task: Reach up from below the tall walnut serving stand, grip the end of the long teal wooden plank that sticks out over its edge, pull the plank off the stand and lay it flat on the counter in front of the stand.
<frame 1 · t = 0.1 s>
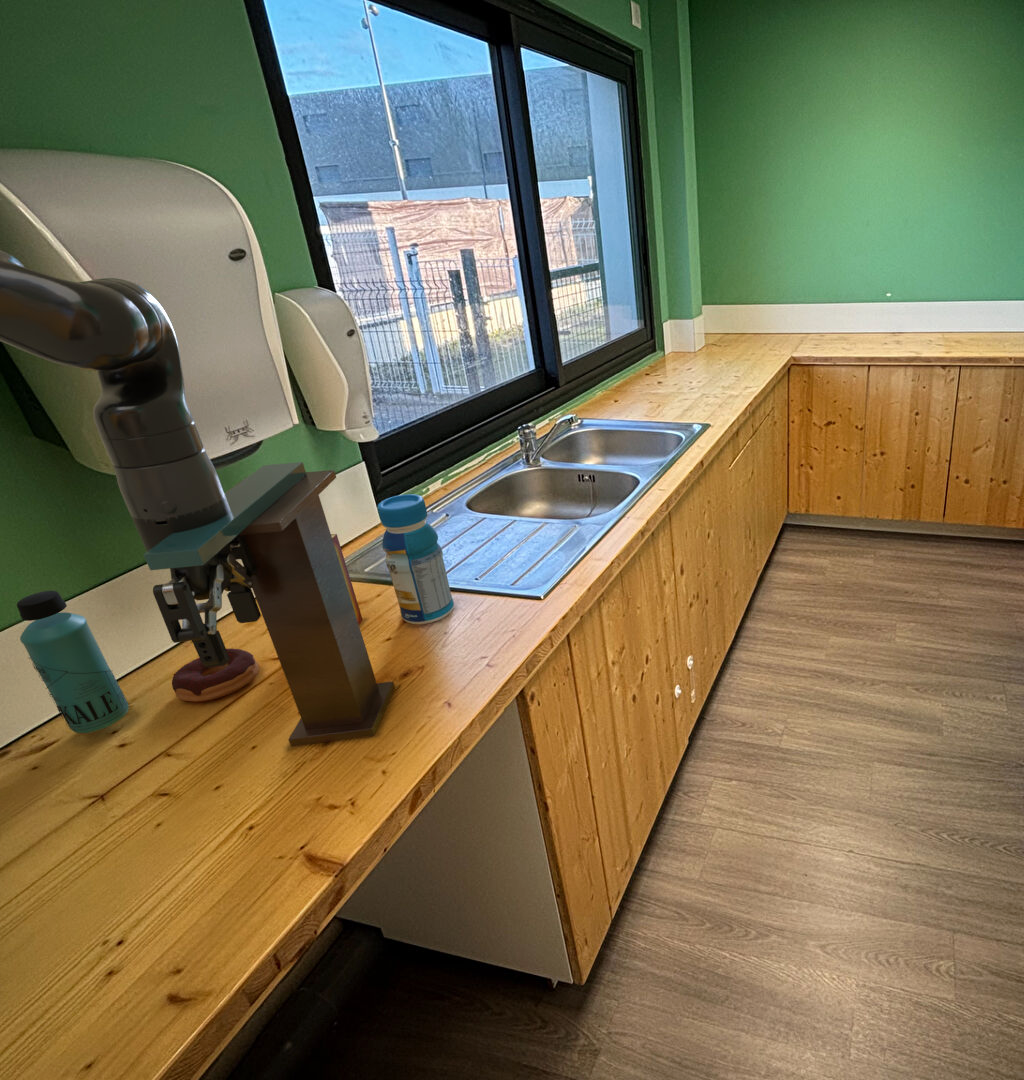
hand: (234, 641, 74), 19 cm above the countertop, tool pointing down, fingers open, 8 cm apart
donut: (221, 686, 100), on the countertop
stand: (340, 725, 91), on the countertop
beverage bottle: (106, 728, 92), on the countertop
beverage bottle 2: (429, 613, 116), on the countertop
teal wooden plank: (240, 515, 73), point 32 cm above the countertop, touching stand
baking soda box: (329, 638, 110), on the countertop
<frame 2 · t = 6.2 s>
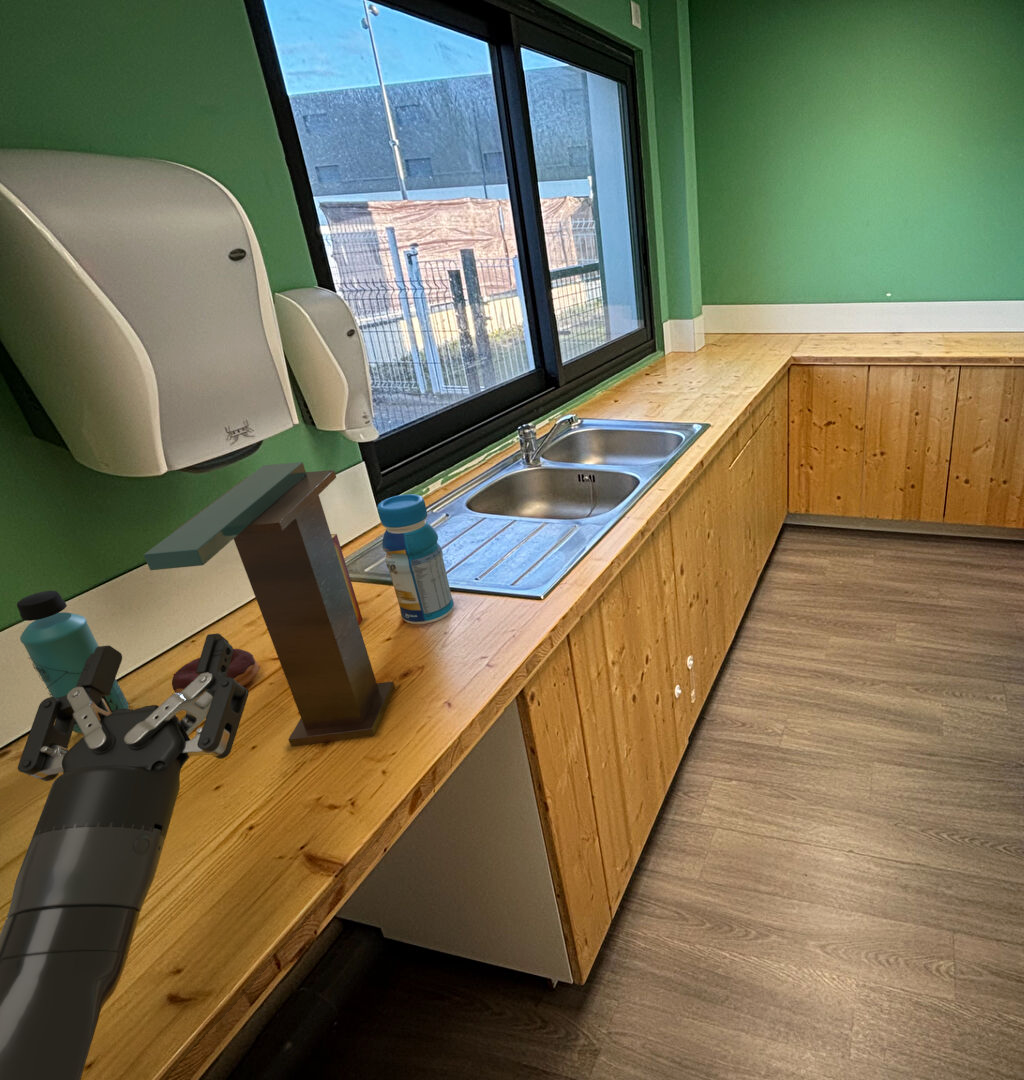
hand: (165, 643, 59), 27 cm above the countertop, tool pointing upward, fingers open, 8 cm apart
nothing on the countertop moved.
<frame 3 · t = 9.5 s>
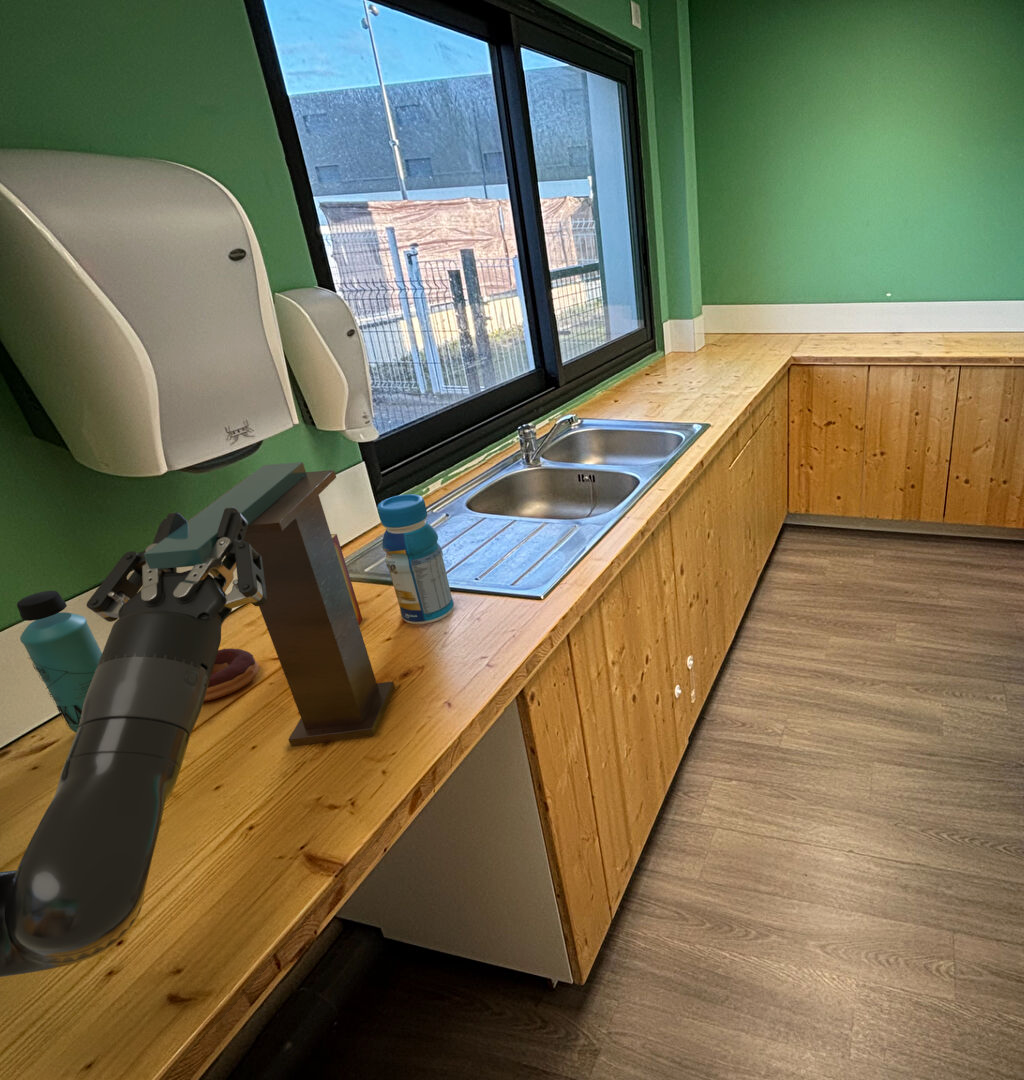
hand: (207, 515, 67), 34 cm above the countertop, tool pointing upward, fingers closed on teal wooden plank, 4 cm apart
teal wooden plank: (240, 515, 73), point 32 cm above the countertop, touching gripper, stand
everything else where it was.
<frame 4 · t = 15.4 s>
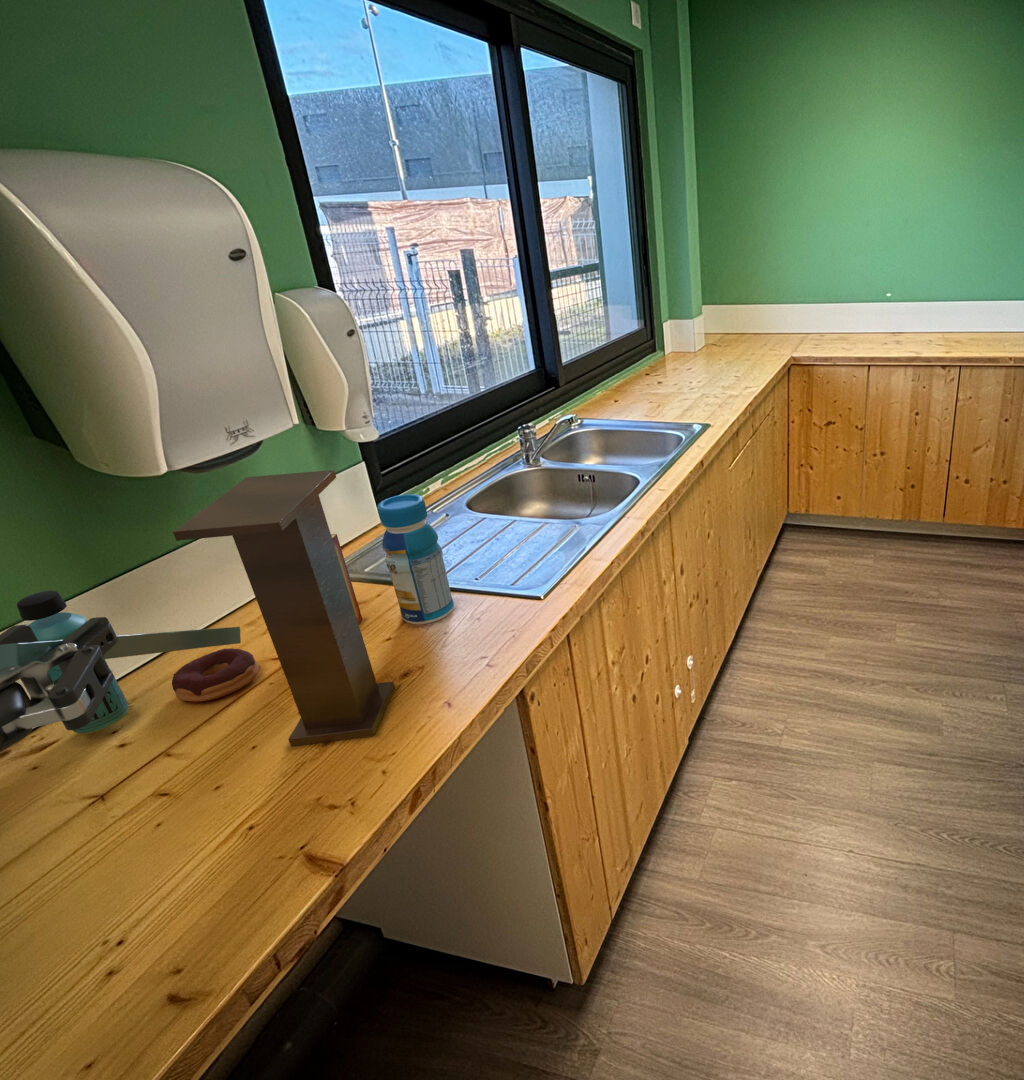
hand: (67, 632, 49), 34 cm above the countertop, tool horizontal, fingers closed on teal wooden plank, 4 cm apart
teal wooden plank: (123, 656, 55), point 29 cm above the countertop, tilted 30°, touching gripper
everything else where it was.
when the fingers open (10 cm above the countertop, at t = 20.1 s): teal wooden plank drops 6 cm, on the countertop.
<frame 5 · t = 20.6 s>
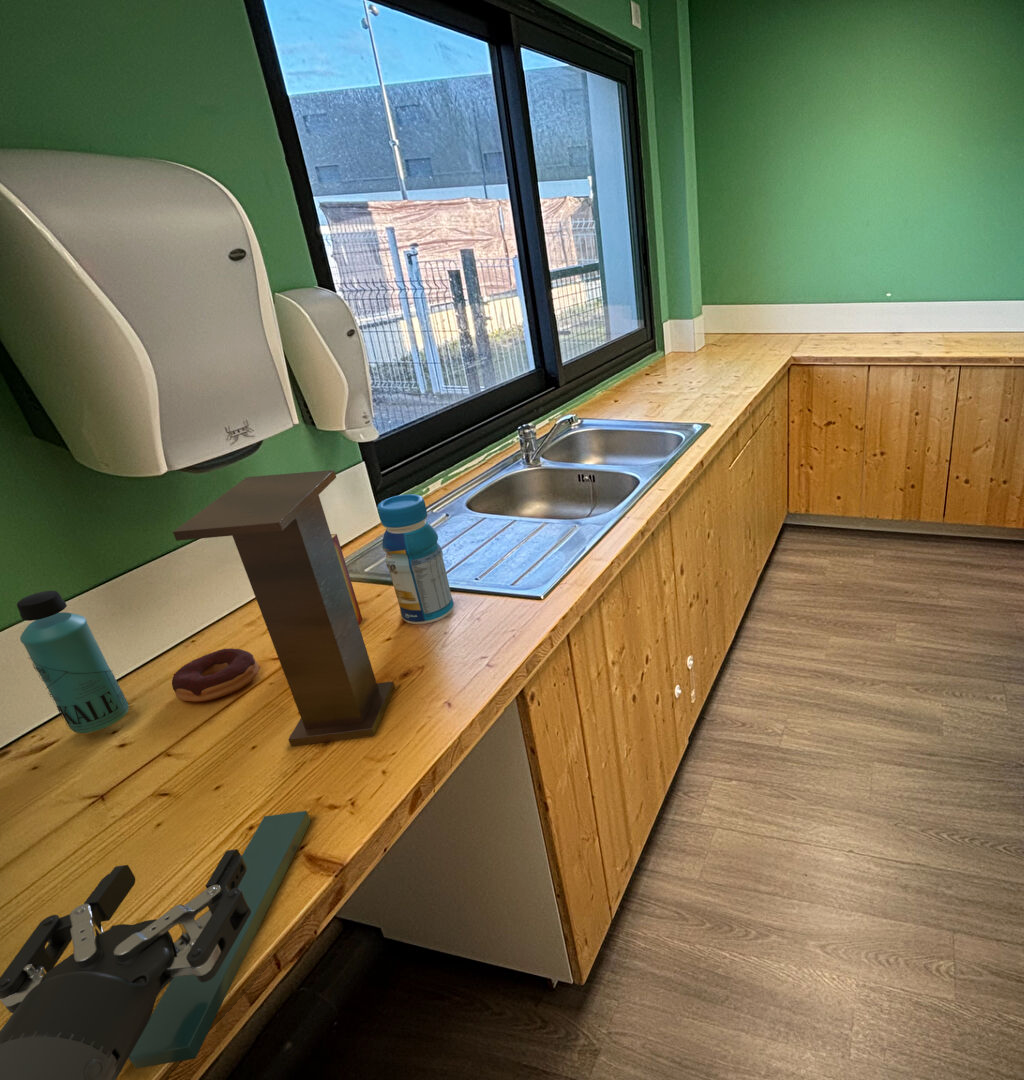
hand: (182, 864, 59), 11 cm above the countertop, tool horizontal, fingers open, 8 cm apart
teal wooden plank: (238, 924, 66), on the countertop
everything else where it was.
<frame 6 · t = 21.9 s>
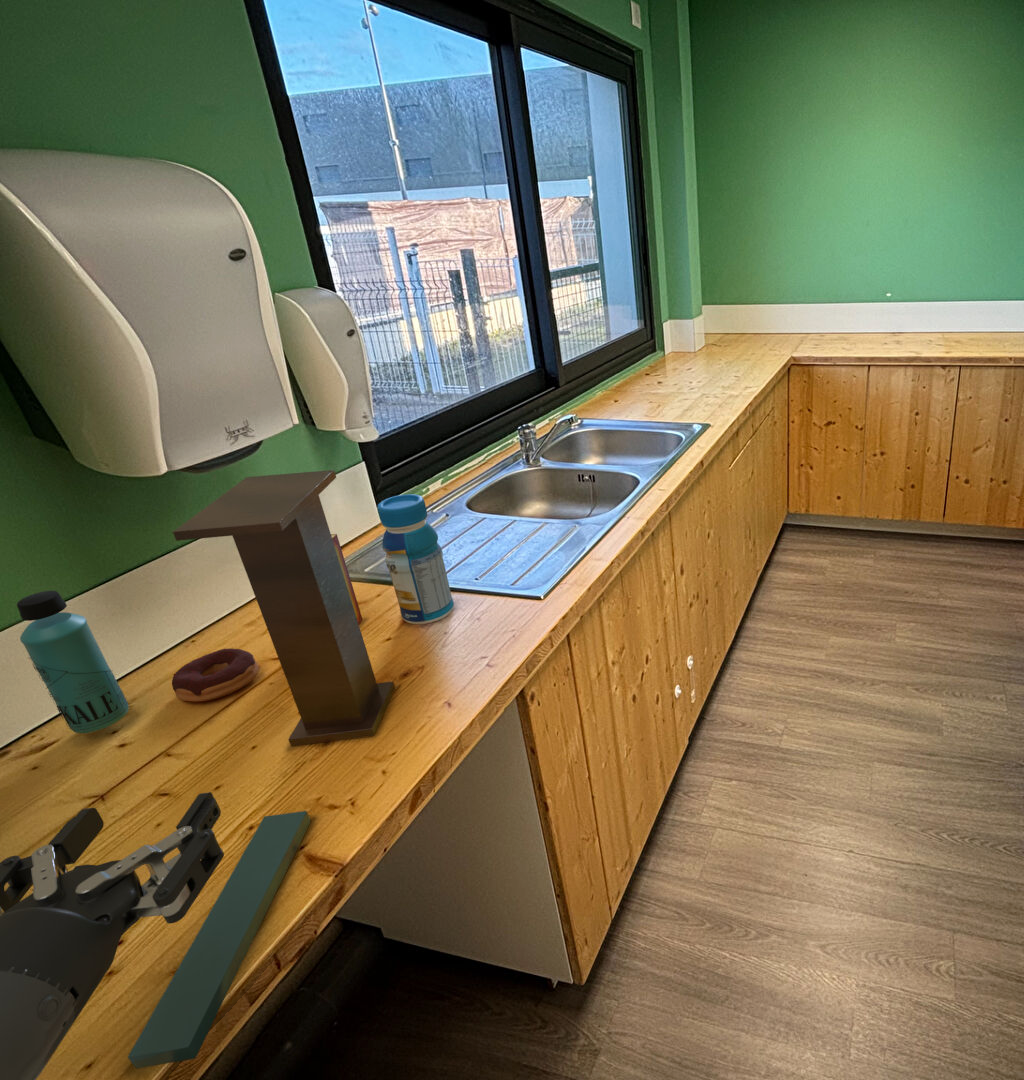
hand: (153, 807, 56), 17 cm above the countertop, tool horizontal, fingers open, 8 cm apart
nothing on the countertop moved.
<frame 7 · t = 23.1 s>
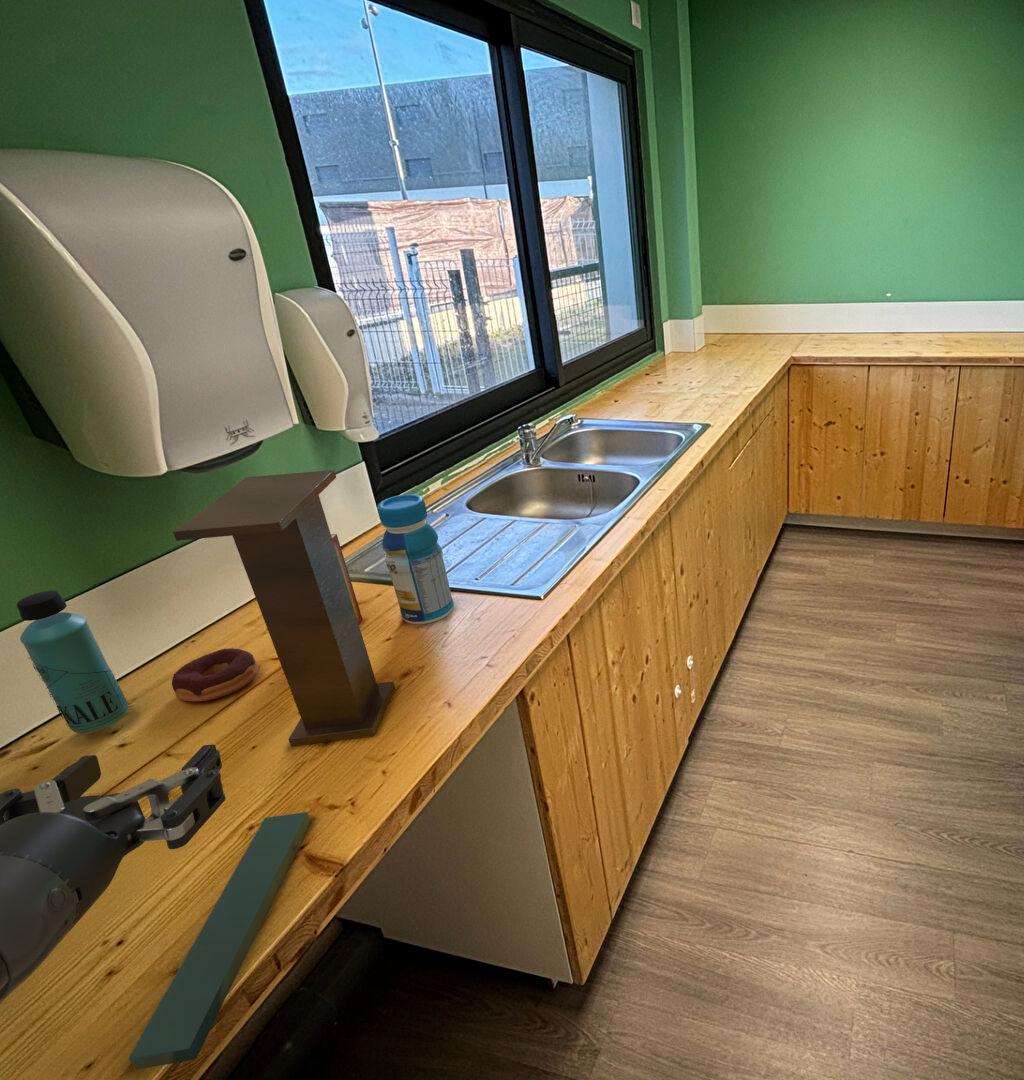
hand: (154, 759, 57), 20 cm above the countertop, tool horizontal, fingers open, 8 cm apart
nothing on the countertop moved.
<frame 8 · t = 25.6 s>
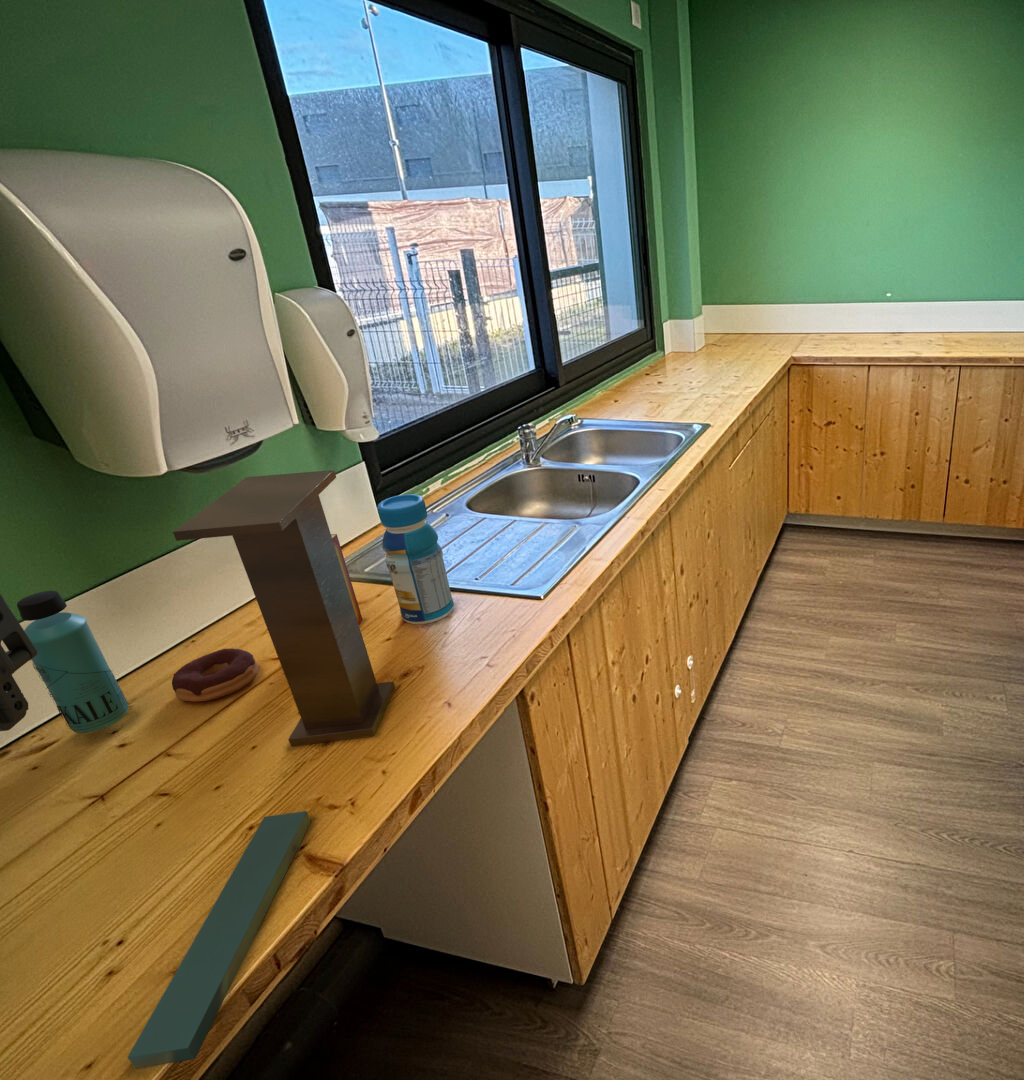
nothing on the countertop moved.
at the end: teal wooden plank inside the target area (2.6 cm from its centre), on the countertop; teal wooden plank tilted 0°; the gripper is holding nothing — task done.
